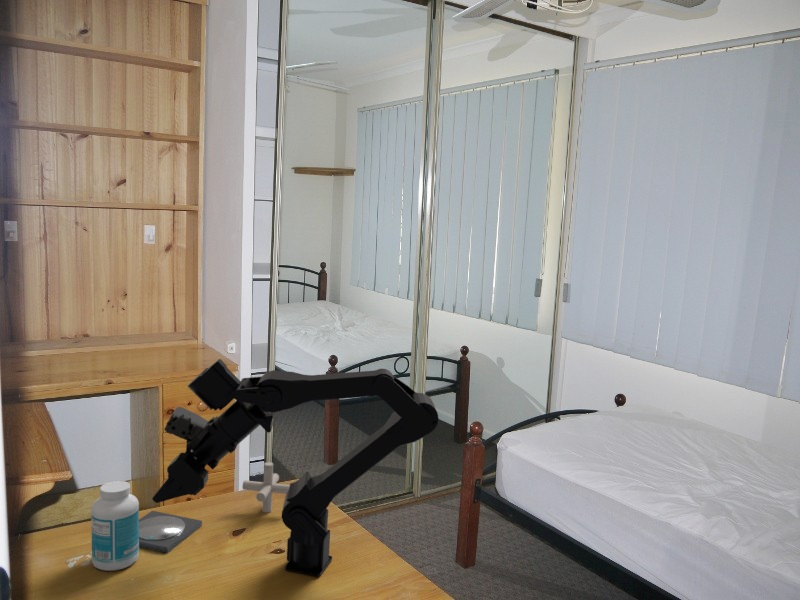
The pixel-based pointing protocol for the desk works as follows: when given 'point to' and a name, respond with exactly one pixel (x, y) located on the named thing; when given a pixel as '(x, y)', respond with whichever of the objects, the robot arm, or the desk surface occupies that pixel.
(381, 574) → the desk surface
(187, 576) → the desk surface
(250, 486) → the pipe connector
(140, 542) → the flange plate
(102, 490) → the pill bottle
